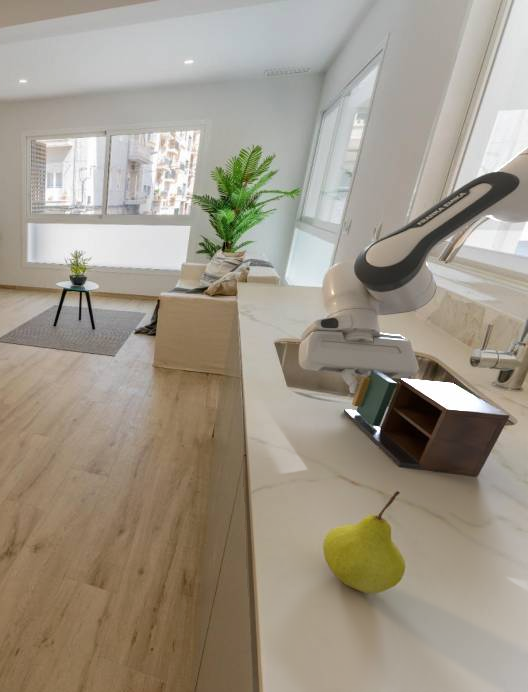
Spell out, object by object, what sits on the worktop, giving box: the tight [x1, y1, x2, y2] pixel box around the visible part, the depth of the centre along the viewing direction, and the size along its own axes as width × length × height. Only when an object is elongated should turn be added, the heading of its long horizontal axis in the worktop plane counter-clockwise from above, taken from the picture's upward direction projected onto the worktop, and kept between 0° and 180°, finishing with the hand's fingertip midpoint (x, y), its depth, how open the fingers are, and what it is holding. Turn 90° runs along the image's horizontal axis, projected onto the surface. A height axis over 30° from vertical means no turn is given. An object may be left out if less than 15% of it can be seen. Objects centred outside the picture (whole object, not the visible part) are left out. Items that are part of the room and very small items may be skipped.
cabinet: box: [342, 378, 510, 478], centre depth 74 cm, size 11×19×11 cm, turn 168°
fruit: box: [322, 490, 406, 595], centre depth 46 cm, size 7×7×12 cm
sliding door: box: [351, 370, 398, 428], centre depth 80 cm, size 2×6×9 cm, turn 168°
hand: (360, 393), depth 83 cm, fingers closed, pressing on sliding door
